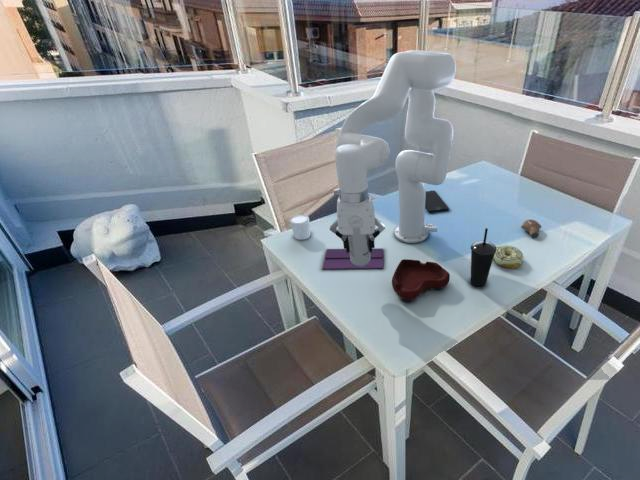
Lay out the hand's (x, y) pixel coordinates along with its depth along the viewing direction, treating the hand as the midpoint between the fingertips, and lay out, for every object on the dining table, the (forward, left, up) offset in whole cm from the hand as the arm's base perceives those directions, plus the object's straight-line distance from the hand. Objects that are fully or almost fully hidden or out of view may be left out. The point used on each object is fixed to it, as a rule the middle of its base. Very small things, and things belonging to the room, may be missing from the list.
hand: (359, 249), depth 112 cm
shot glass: (+24, -30, -14) cm, 41 cm away
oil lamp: (-63, -31, -14) cm, 72 cm away
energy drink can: (0, 0, -5) cm, 5 cm away
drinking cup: (-37, 0, -14) cm, 39 cm away
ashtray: (-17, 0, -14) cm, 22 cm away
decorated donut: (-49, -12, -14) cm, 52 cm away
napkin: (+4, -14, -14) cm, 20 cm away
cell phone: (-27, -56, -14) cm, 64 cm away
